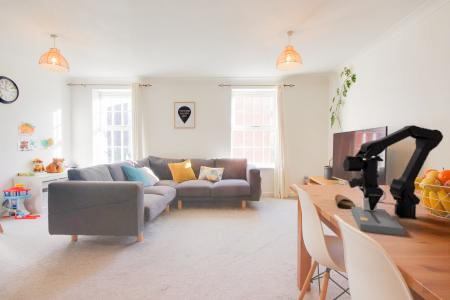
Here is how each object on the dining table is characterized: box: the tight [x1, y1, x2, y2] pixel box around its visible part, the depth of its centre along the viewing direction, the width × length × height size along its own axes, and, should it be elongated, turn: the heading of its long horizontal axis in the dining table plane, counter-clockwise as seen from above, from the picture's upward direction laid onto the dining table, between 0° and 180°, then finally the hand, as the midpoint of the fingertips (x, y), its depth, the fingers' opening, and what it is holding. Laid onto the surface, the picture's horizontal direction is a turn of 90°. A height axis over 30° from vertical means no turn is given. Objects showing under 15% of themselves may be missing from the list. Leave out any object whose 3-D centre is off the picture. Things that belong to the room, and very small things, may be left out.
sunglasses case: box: [334, 194, 355, 210], centre depth 122 cm, size 18×7×7 cm
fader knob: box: [361, 197, 378, 211], centre depth 103 cm, size 5×3×5 cm, turn 69°
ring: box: [378, 189, 387, 203], centre depth 127 cm, size 7×3×8 cm, turn 59°
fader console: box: [350, 206, 405, 237], centre depth 95 cm, size 13×25×3 cm, turn 159°
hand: (369, 207), depth 103 cm, fingers open, 9 cm apart
